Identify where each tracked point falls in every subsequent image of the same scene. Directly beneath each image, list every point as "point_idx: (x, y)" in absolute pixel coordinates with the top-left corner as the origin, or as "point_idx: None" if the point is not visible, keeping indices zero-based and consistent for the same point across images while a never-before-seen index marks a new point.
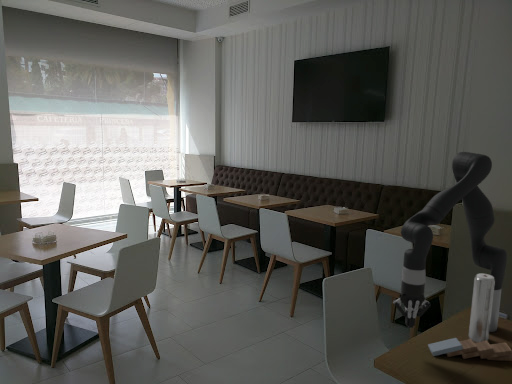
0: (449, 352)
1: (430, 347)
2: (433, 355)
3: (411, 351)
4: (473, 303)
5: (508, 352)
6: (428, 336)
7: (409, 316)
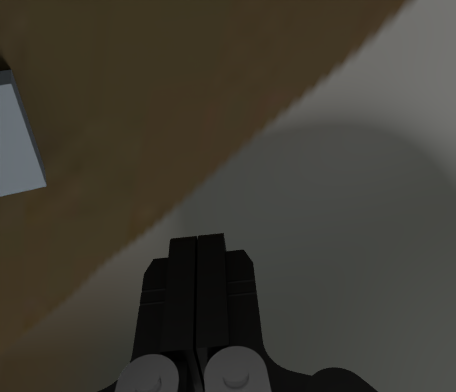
0: None
1: (25, 147)
2: (9, 71)
3: (178, 109)
4: None
5: None
6: (42, 289)
7: (238, 375)
